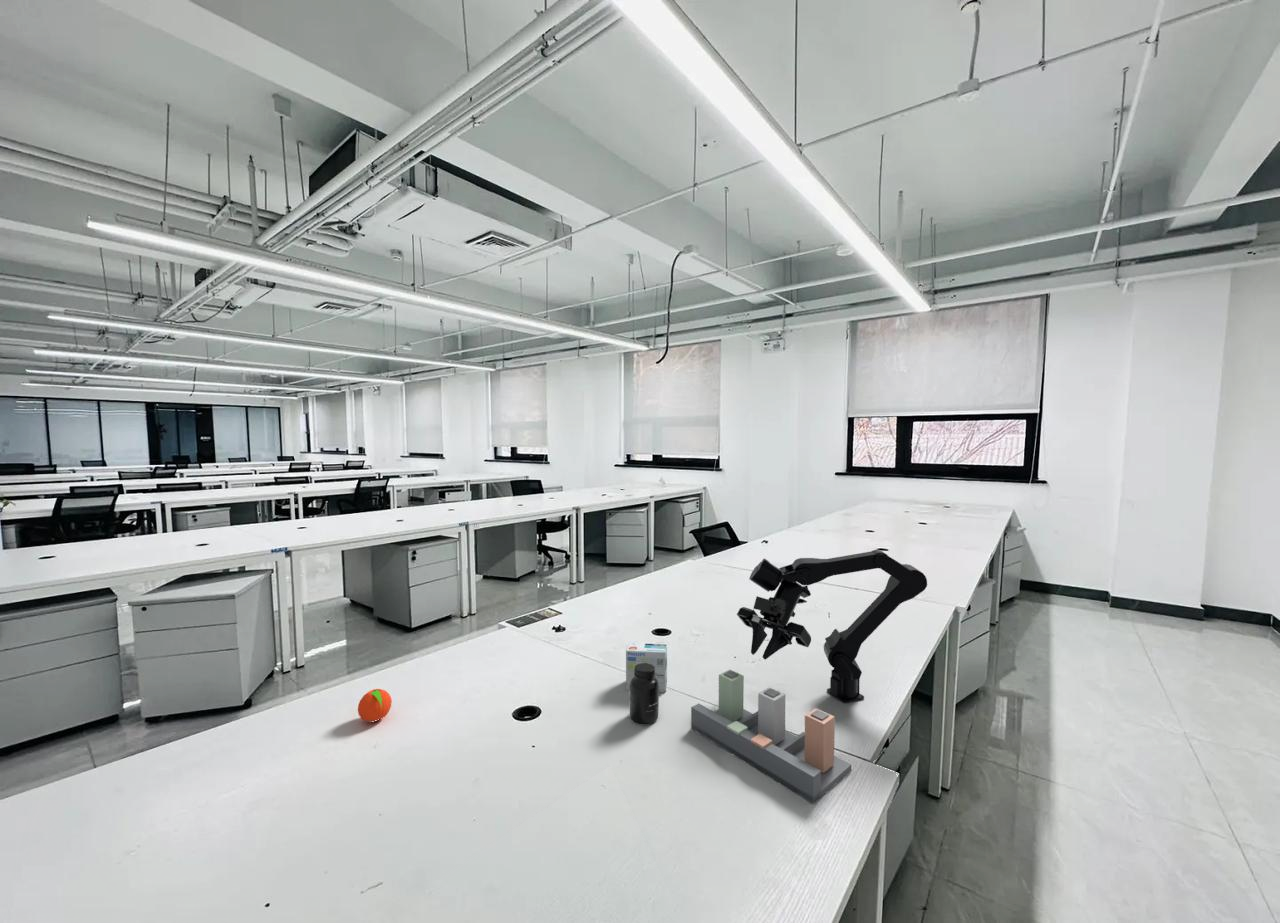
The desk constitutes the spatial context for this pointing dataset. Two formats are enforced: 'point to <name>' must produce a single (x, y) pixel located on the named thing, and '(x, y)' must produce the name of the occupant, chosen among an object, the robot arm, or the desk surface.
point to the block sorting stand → (768, 752)
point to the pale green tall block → (731, 695)
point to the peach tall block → (819, 739)
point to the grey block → (771, 715)
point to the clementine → (374, 705)
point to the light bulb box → (647, 660)
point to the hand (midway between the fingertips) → (757, 656)
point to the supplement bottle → (644, 695)
